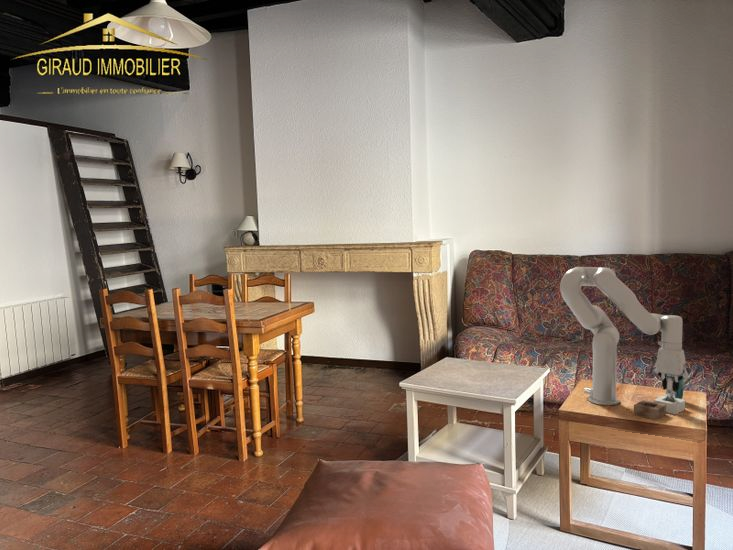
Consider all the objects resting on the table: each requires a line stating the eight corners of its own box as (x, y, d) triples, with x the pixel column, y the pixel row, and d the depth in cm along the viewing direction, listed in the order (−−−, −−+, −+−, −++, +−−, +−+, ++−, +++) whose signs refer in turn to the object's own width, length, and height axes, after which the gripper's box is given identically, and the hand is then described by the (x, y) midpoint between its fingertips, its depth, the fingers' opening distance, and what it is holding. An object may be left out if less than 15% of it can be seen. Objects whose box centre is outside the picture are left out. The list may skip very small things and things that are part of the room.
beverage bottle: (671, 403, 260) (672, 356, 258) (663, 398, 266) (664, 353, 265) (686, 402, 260) (688, 356, 258) (677, 398, 267) (679, 353, 265)
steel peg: (664, 402, 251) (664, 376, 250) (667, 400, 254) (668, 374, 253) (672, 404, 249) (673, 377, 248) (676, 402, 251) (676, 376, 250)
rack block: (653, 409, 252) (653, 400, 251) (662, 404, 258) (662, 395, 258) (676, 414, 245) (676, 404, 245) (684, 409, 251) (685, 399, 251)
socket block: (633, 414, 246) (633, 404, 245) (643, 409, 252) (643, 400, 252) (656, 419, 239) (656, 409, 239) (665, 414, 245) (666, 404, 245)
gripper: (647, 344, 252) (646, 388, 254) (689, 350, 240) (688, 395, 242) (654, 341, 258) (653, 384, 259) (696, 347, 246) (695, 391, 247)
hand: (670, 389), depth 251 cm, fingers closed on steel peg, 3 cm apart
